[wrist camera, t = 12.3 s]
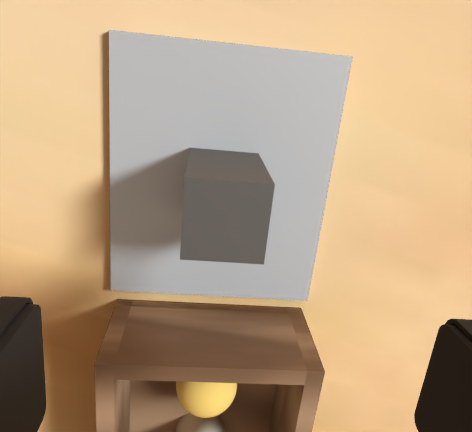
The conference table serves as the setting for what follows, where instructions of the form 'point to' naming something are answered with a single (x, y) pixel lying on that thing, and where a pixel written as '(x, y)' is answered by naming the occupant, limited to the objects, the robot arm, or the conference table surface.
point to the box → (206, 365)
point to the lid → (219, 164)
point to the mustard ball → (205, 397)
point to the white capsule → (200, 424)
